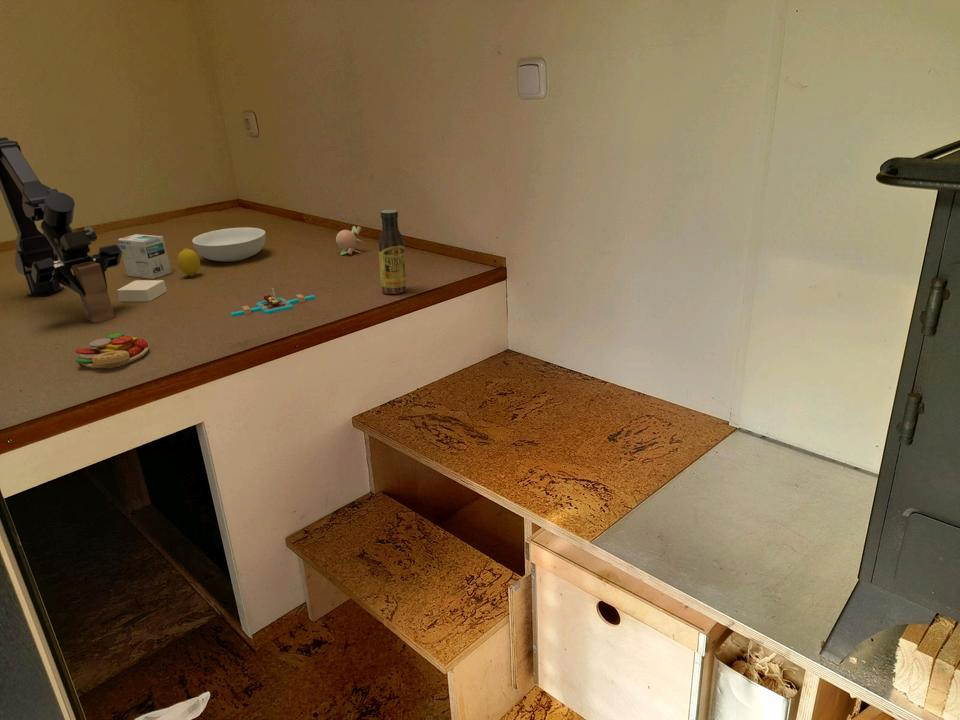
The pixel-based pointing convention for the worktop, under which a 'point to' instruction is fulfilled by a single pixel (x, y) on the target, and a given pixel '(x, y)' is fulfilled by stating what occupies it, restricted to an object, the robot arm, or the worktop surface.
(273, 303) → the multicoloured piece
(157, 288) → the cream plinth
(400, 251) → the sauce bottle
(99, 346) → the toy food set
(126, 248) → the light bulb box
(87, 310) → the walnut column
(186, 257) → the lemon
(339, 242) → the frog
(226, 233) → the serving bowl
